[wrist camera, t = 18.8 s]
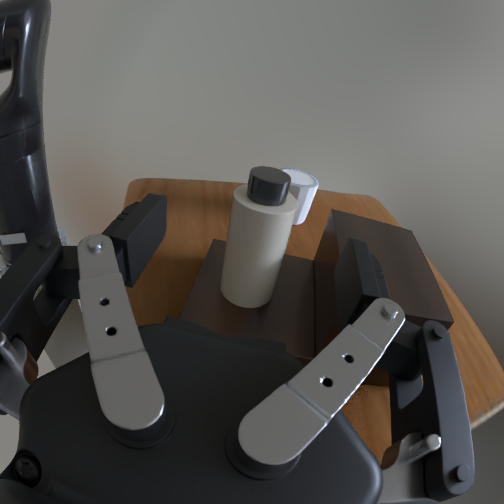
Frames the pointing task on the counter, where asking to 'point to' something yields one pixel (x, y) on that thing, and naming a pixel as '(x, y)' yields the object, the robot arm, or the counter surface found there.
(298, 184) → the white short tapered cylinder
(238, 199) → the white bottle
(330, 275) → the stepped wooden block
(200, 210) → the counter surface
